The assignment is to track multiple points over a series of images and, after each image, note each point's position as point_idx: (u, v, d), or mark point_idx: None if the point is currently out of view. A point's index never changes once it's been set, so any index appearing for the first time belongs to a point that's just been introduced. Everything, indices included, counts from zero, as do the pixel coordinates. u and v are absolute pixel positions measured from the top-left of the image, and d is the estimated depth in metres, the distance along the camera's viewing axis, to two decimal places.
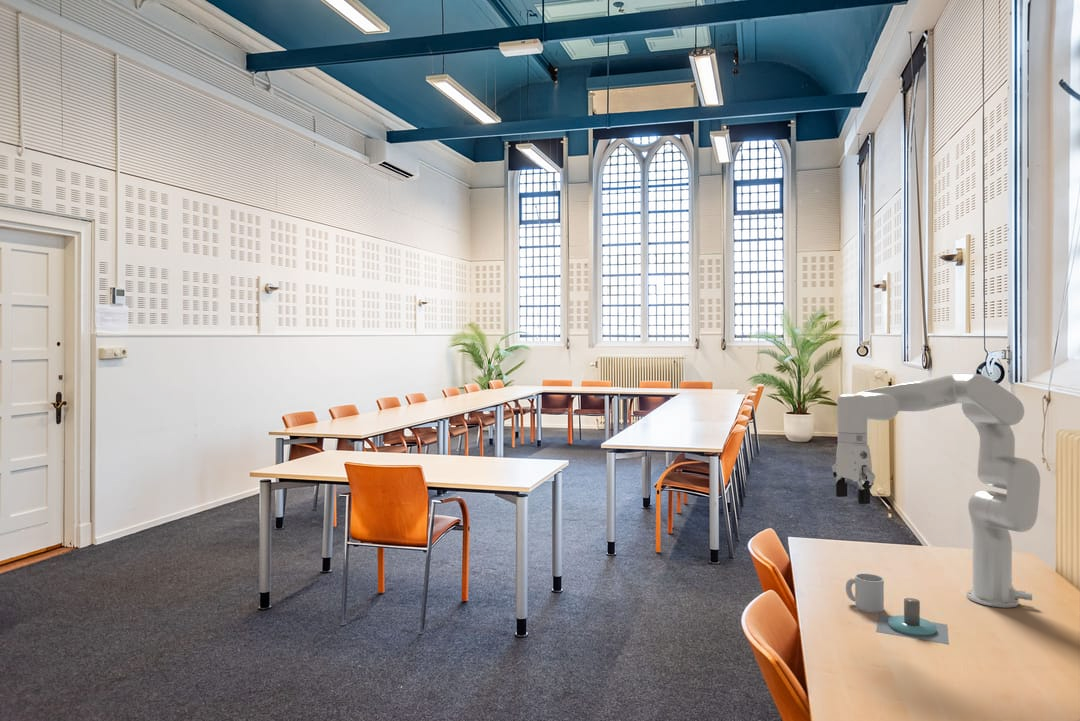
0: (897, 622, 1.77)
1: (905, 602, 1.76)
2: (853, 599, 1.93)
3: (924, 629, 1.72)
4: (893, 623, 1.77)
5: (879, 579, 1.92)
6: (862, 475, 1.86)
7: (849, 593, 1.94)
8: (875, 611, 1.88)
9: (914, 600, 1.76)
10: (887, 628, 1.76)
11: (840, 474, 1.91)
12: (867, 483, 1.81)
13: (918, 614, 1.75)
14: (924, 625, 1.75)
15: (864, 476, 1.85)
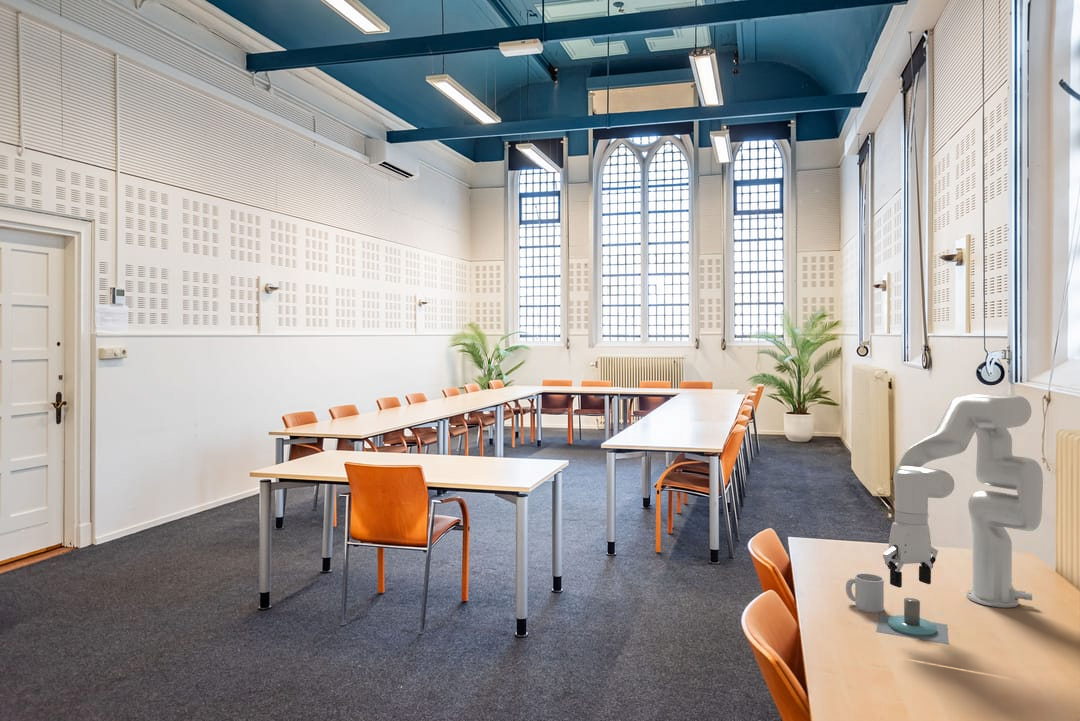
0: (897, 622, 1.77)
1: (905, 602, 1.76)
2: (853, 599, 1.93)
3: (924, 629, 1.72)
4: (893, 623, 1.77)
5: (879, 579, 1.92)
6: None
7: (849, 593, 1.94)
8: (875, 611, 1.88)
9: (914, 600, 1.76)
10: (887, 628, 1.76)
11: (910, 560, 1.74)
12: (935, 559, 1.78)
13: (918, 614, 1.75)
14: (924, 625, 1.75)
15: None
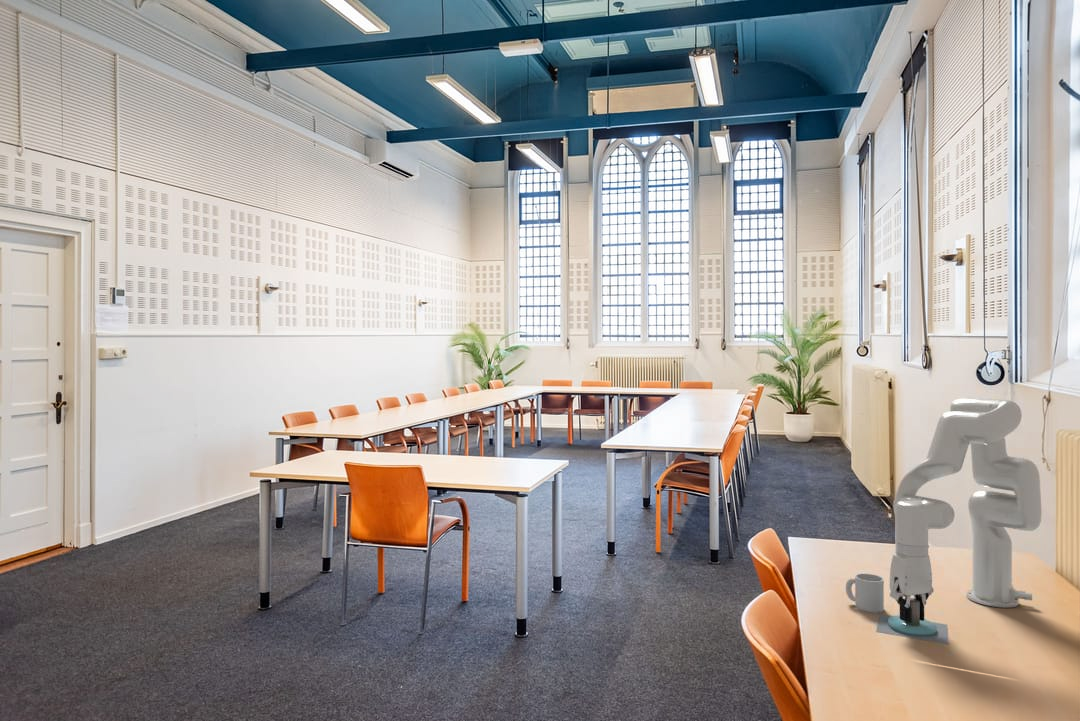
0: (897, 622, 1.77)
1: None
2: (853, 599, 1.93)
3: (924, 629, 1.72)
4: (893, 623, 1.77)
5: (879, 579, 1.92)
6: None
7: (849, 593, 1.94)
8: (875, 611, 1.88)
9: (914, 600, 1.76)
10: (887, 628, 1.76)
11: (911, 592, 1.74)
12: (928, 596, 1.77)
13: (918, 614, 1.75)
14: (924, 625, 1.75)
15: None
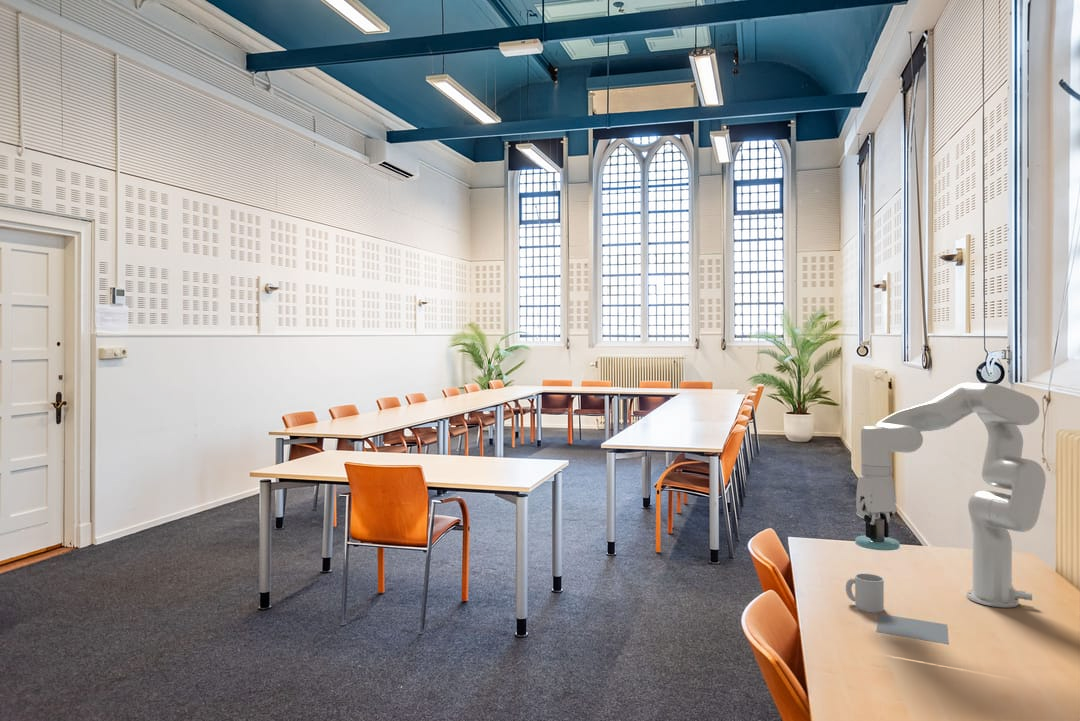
0: (863, 540, 1.88)
1: None
2: (853, 599, 1.93)
3: (888, 544, 1.83)
4: (860, 540, 1.87)
5: (879, 579, 1.92)
6: None
7: (849, 593, 1.94)
8: (875, 611, 1.88)
9: (879, 518, 1.87)
10: (887, 628, 1.76)
11: (876, 510, 1.85)
12: (892, 514, 1.88)
13: (883, 531, 1.86)
14: (888, 541, 1.86)
15: None
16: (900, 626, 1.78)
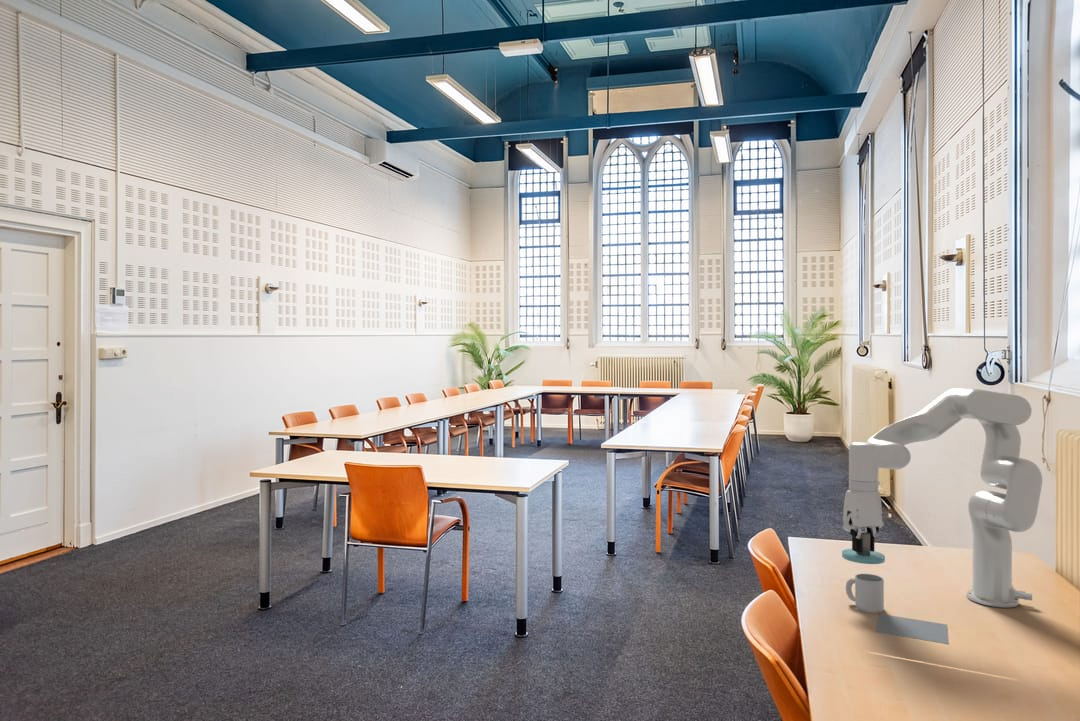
0: (849, 553, 1.93)
1: None
2: (853, 599, 1.93)
3: (873, 558, 1.88)
4: (846, 553, 1.92)
5: (879, 579, 1.92)
6: None
7: (849, 593, 1.94)
8: (875, 611, 1.88)
9: (865, 532, 1.92)
10: (887, 628, 1.76)
11: (862, 524, 1.89)
12: (878, 529, 1.93)
13: (868, 545, 1.90)
14: (874, 555, 1.91)
15: None
16: (900, 626, 1.78)
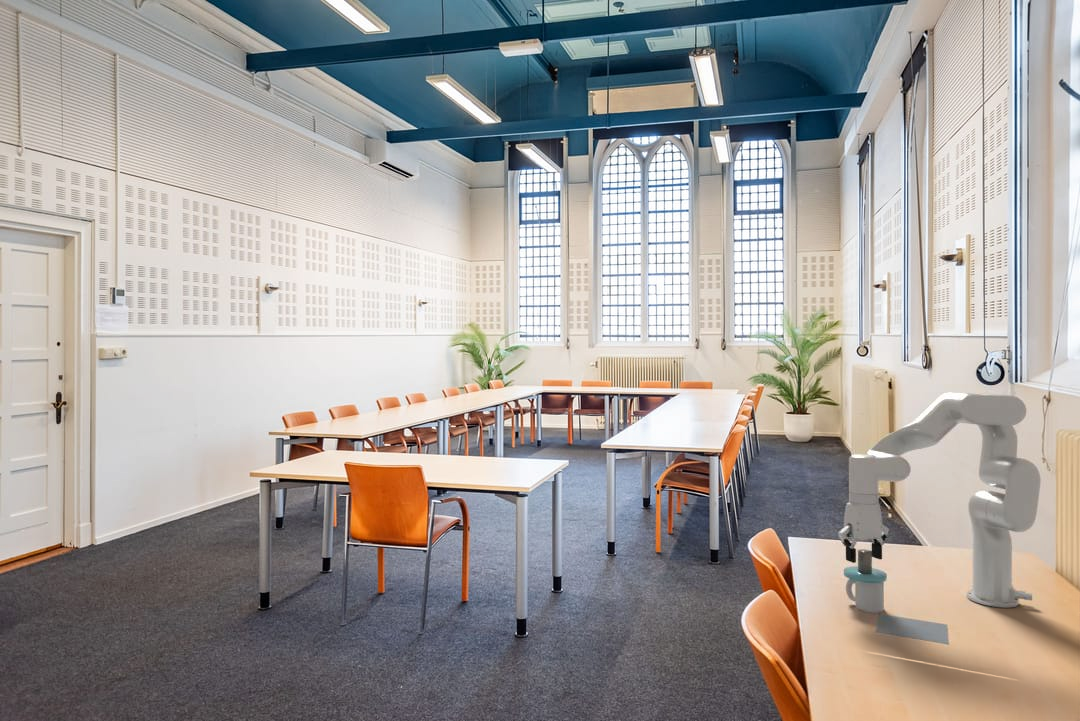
0: (851, 571, 1.93)
1: (858, 552, 1.92)
2: (853, 599, 1.93)
3: (875, 576, 1.88)
4: (847, 572, 1.92)
5: None
6: None
7: (849, 593, 1.94)
8: (875, 611, 1.88)
9: (867, 551, 1.92)
10: (887, 628, 1.76)
11: (862, 537, 1.89)
12: (885, 537, 1.93)
13: (870, 563, 1.90)
14: (876, 573, 1.91)
15: None
16: (900, 626, 1.78)
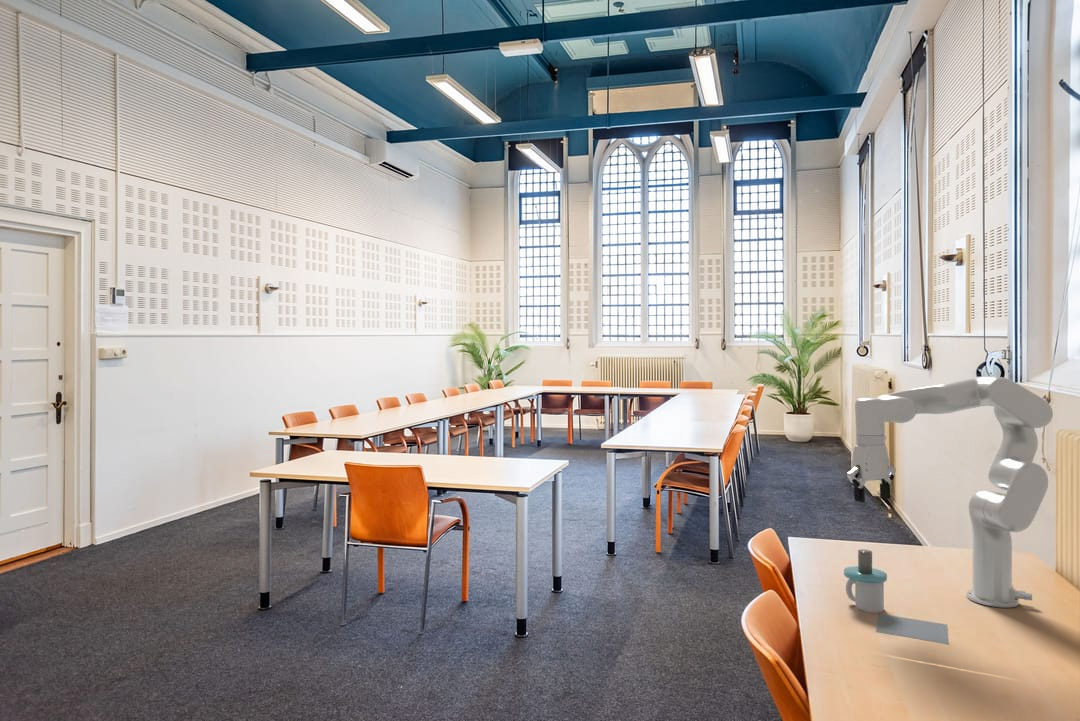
0: (851, 571, 1.93)
1: (859, 553, 1.92)
2: (853, 599, 1.93)
3: (876, 577, 1.88)
4: (848, 572, 1.92)
5: None
6: None
7: (849, 593, 1.94)
8: (875, 611, 1.88)
9: (867, 551, 1.92)
10: (887, 628, 1.76)
11: (871, 478, 1.94)
12: (893, 477, 1.98)
13: (870, 563, 1.90)
14: (876, 573, 1.91)
15: None
16: (900, 626, 1.78)
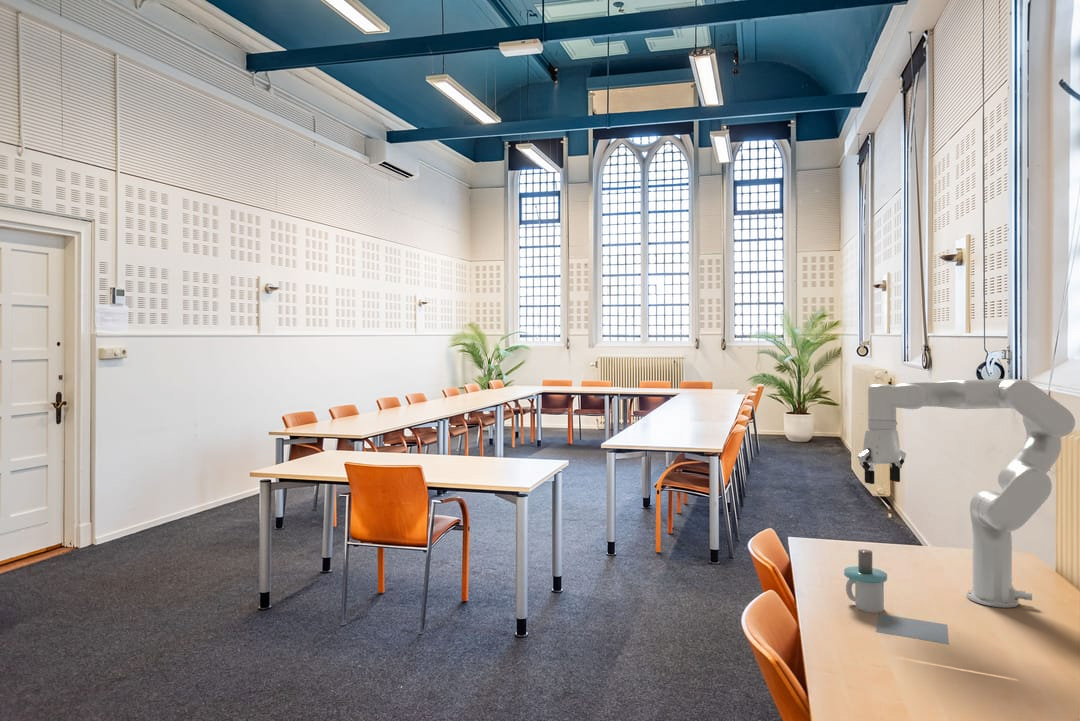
0: (852, 571, 1.93)
1: (859, 553, 1.92)
2: (853, 599, 1.93)
3: (876, 577, 1.88)
4: (848, 572, 1.92)
5: None
6: None
7: (849, 593, 1.94)
8: (875, 611, 1.88)
9: (867, 551, 1.92)
10: (887, 628, 1.76)
11: (881, 461, 2.01)
12: (903, 461, 2.05)
13: (871, 563, 1.90)
14: (876, 573, 1.91)
15: None
16: (900, 626, 1.78)
